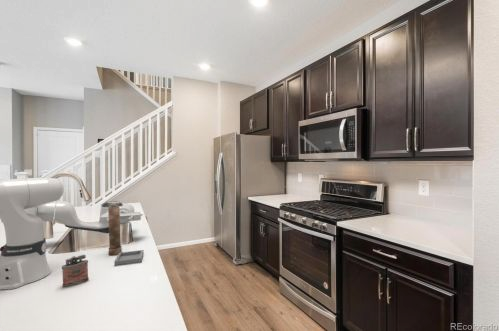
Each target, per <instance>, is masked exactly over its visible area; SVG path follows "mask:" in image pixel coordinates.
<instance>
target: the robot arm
mask: <svg viewBox="0 0 499 331" xmlns="http://www.w3.org/2000/svg"><path fill="white" fill-rule="evenodd" d="M64 190H65V189H64V184H63V182H61V181H60V180H59V178H54V177H45V176H44V177H43V176H42V177H27V178H26V177H25V178H7V179H5V178H4V179H0V221H1V223H2V224H3V228H4V232H5V244H4V245H2V246H0V290H1V291H2V290H12V289H13V290H14V289H17V288H20V287H22V286H25V285H27V284H29V283H33V282H36V281H40V280H41V279H43V278H45V277H47V276H48V275H49V274H51V272H52V270H51V268H50V266H49V264H48V259H47V255H46V252H47V241H46V238H45V227H44V226H45V223H44V222H49V223H50V222H56V223H60V224H63V225H64V227H66V228H68V229H74V230H80V231H88V232H89V231H90V232H97V233H103V234H109V217H108V207H110V206H111V204H112V203H116V205H117V206H119V209H120V224H127V223H129V222H137V221H141V220H142V216H143V213H141V212H140V211H135V208H134V206H133V205H132V204H128V203H125V204H123V203H122V202H120V201H116V200H115V201H114V200H113V201H106V202H104V203H102V204H101V206H100V212H99V220H98V222H97V223H96V222H88V221H82V220H80V218H79V217H78V215H77V212H76V209H75V206H74V205H73V204H72V203H71V202H69V201H66V200H60V199H61V198H62V197H63V195H64Z"/></svg>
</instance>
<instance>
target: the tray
mask: <svg viewBox="0 0 499 331" xmlns="http://www.w3.org/2000/svg"><path fill="white" fill-rule="evenodd" d="M143 257H144V249H140V250H132V251H122V252H121V253H119V254H118V255H116V258H115V260H114V261H113V262H114V263H113V264H114V267H119V266H125V265H133V264H140V263H142V261H143Z"/></svg>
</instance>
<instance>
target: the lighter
mask: <svg viewBox="0 0 499 331" xmlns="http://www.w3.org/2000/svg"><path fill="white" fill-rule="evenodd" d="M86 258H87V257H86V254H80V255H77V256H75V255H72V256H71V258H66V259H65V264H63V265H62V266H61V270H62V271H61V272H62V288H63V289H64V288H69V287H73V286H77V285H81V284H83V283H86V282H89V280H90V278H89V265H88V263H89V260H88V259H86Z"/></svg>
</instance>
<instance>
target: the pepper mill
mask: <svg viewBox="0 0 499 331" xmlns="http://www.w3.org/2000/svg"><path fill="white" fill-rule="evenodd" d="M108 217H109V233H108V237H109V238H108V242H109V243H108V244H109V247H108V256H118V254H119V253H121V252H123V251H122V250H123V248H122V247H123V246H122V245H121V223H120V209H119V206H117V205H116V203H112V204H111V206H110V207H108Z"/></svg>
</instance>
